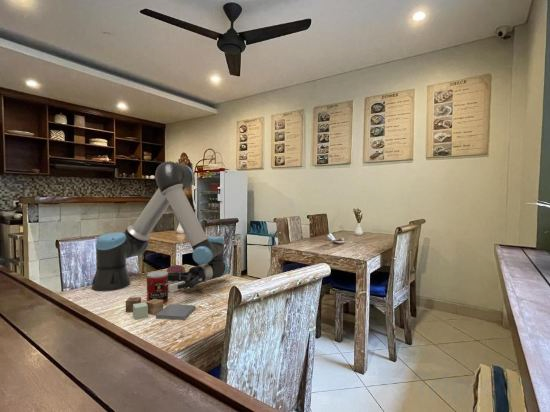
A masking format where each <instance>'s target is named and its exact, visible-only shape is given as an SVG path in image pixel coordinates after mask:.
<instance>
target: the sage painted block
mask: <svg viewBox="0 0 550 412" xmlns="http://www.w3.org/2000/svg"><path fill="white" fill-rule="evenodd" d="M146 302H147V301H144V302H141V303H138V304H133V312H132V316H133V318H134V320H135V321H136V320H140V319H145V318H149V317H148V316H149V314H148V305H147V304H146Z"/></svg>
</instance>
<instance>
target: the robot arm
mask: <svg viewBox="0 0 550 412" xmlns="http://www.w3.org/2000/svg"><path fill="white" fill-rule="evenodd" d="M154 176H155V177H154V179H155V181H156V185H157V187H158V188H157V189H156V191H155V192H154V194H153V196H152V197H151V199H150V200H149V201H148V203H147V204H146V206H145V207H144V209H143V210H142V211H141V212H140V214H139V216H138V217H137V219H136V220H135V222H134V223H133V224H131V225H128V226H127V227H126V229H124V230H125V231H124V232H120V231H119V232H116V231H115V232H110V233H108V232H107V233H104V234H100V235H99V236H98V237H97V238H96V244H95V253H96V254H95V257H96V259H95V260H96V261H95V262H96V266H95V267H96V268H95V269H96V270H95V273H94V276H93V279H92V282H91V289H92V290H94V291H98V292H99V291H100V292H104V291H106V292H107V291H114V290H120V289H121V290H122V289H123V288H126V287H128V286H130V284H131V279H130V276H129V272H128V270H127V263H126V262H127V259H129V258H133V257H137V256H139V255H141V254H143V253H144V252H145V251H146V250H147V249H148V246H149V240H150V238H151V235H150V234H151V232H152V231H153V229H154V228H155V226H156V225H157V223H158V222H159V221H160V220H161V218H162V216H163V215H164V214H165V212H166V211H167V210H168V208H169V206H170V207H171V210H172V211H173V213H174V215H175V217H176V219H177V221H178V223H179V225H180V227H181V228H182V231H183V232H184V235H185V237H186V239H187V241H188V243H189V245H190V247H191V249H192V251H193V252H192V260H193V261H194V262H195V263H196V264H197V265H195V266H193V267H190V268H189V269H188V271H185V272H184V273H182V271H180V272H174V273H168V282H175V283H172V284H168V293H170V294H171V293H174V292H176V291H180V290H183V289H189V290H192V289H194V288H195V287H196V286H197V285H199V284H201V283H206V282H207V281H210V280H214V279H217V278H222V277H223V276H225V275H226V274H227V273H228V272H229V265H228V263H227V261H226V260H225V259H224V251H225V250H224V249H225V248H224V247H225V243H224V237H222V236H215V235H214V236H213V235H211V236H207V235H206V233H205V231H204V229H203V227H202V225H201V223H200V221H199V219H198V217H197V215H196V213H195V211H194V209H193V207H192V205H191V203H190V201H189V199H188V197H187V195H186V194H185V190H186V189H188V188H190V187H191V186H193V183H194V180H195V174H194V171H193V170H192V168H191V167H190V166H188V165H186V164H184V163H178V162H174V161H171V160H170V161H169V160H168V161H164V162H162V163H160V164H159V165H158V166H157V168H156V170H155V174H154ZM179 278H180V279H181V280H180V279H179Z"/></svg>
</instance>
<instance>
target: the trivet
mask: <svg viewBox="0 0 550 412" xmlns="http://www.w3.org/2000/svg"><path fill="white" fill-rule="evenodd" d="M195 310H196V305H193V304H176V303H174V304H173V303H169V304H168V305H166V306H165V307H163V309H162V310H161V311H160V312H159V313H157V314H156V315H155V319H162V320H182V321H185V320H186V319H187V318H188V317H189V316H190V315H191V314H192V313H193V312H194V311H195Z"/></svg>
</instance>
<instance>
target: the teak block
mask: <svg viewBox="0 0 550 412" xmlns="http://www.w3.org/2000/svg"><path fill="white" fill-rule="evenodd" d="M145 302H146V304H147V305H148V315H152V316H156V314H157V313H159V312H160V311H161V310H162V309H164V304H163V300H159V299H153V300H150V301H148V302H147V301H145Z"/></svg>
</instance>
